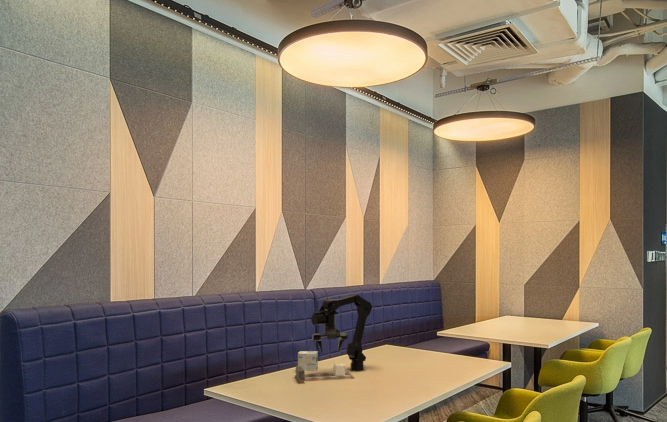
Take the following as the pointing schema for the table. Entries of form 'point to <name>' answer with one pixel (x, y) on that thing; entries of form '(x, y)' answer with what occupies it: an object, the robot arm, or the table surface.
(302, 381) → the track board
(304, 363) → the light bulb box
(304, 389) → the table surface
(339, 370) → the cream white cube
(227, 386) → the table surface
